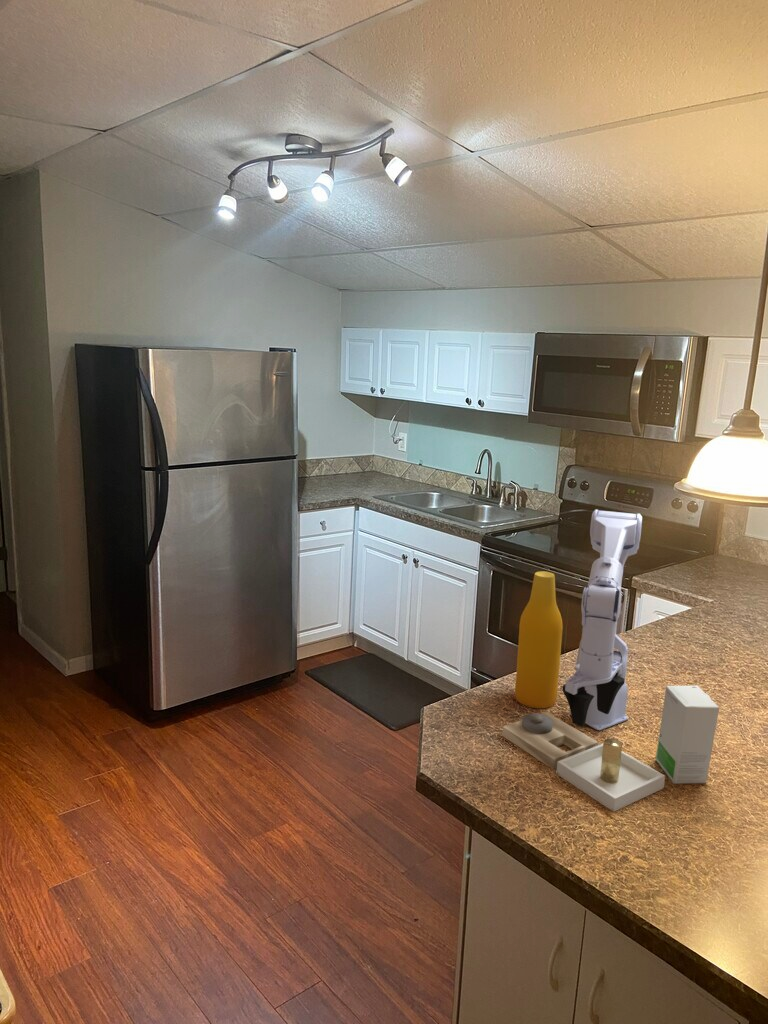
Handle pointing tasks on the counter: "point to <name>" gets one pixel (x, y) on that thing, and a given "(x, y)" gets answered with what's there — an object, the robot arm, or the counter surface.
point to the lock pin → (611, 760)
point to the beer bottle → (539, 645)
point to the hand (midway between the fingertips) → (590, 718)
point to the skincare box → (686, 734)
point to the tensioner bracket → (547, 738)
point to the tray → (628, 789)
